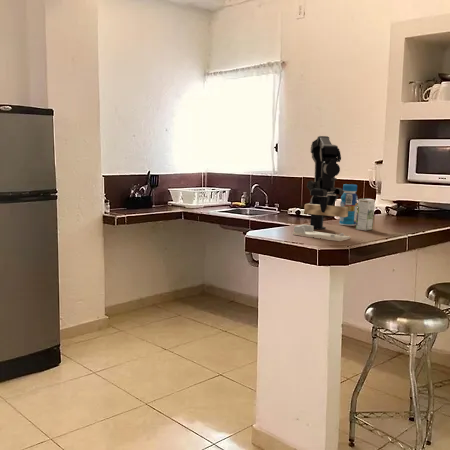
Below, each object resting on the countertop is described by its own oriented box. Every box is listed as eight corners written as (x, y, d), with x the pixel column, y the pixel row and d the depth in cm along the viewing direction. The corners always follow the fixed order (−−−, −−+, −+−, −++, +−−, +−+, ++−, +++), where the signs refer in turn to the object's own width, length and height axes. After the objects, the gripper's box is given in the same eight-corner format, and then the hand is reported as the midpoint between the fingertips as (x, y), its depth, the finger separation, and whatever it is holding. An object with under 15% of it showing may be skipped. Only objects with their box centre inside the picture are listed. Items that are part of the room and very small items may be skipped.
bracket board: (304, 232, 243) (304, 224, 243) (350, 238, 230) (350, 230, 229) (292, 234, 236) (292, 226, 235) (339, 241, 222) (339, 232, 222)
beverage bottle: (335, 224, 275) (337, 184, 272) (346, 223, 280) (349, 184, 277) (348, 226, 268) (350, 185, 265) (359, 225, 273) (362, 185, 270)
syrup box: (361, 228, 263) (364, 198, 261) (372, 230, 259) (375, 199, 257) (355, 229, 259) (357, 198, 257) (366, 231, 255) (368, 199, 253)
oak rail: (304, 213, 237) (304, 204, 237) (307, 212, 241) (308, 203, 240) (344, 217, 229) (345, 207, 228) (347, 216, 232) (348, 207, 232)
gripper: (321, 174, 245) (319, 209, 247) (300, 174, 230) (298, 211, 232) (344, 175, 238) (342, 211, 240) (323, 176, 223) (321, 214, 225)
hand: (325, 212), depth 235 cm, fingers closed on oak rail, 4 cm apart
